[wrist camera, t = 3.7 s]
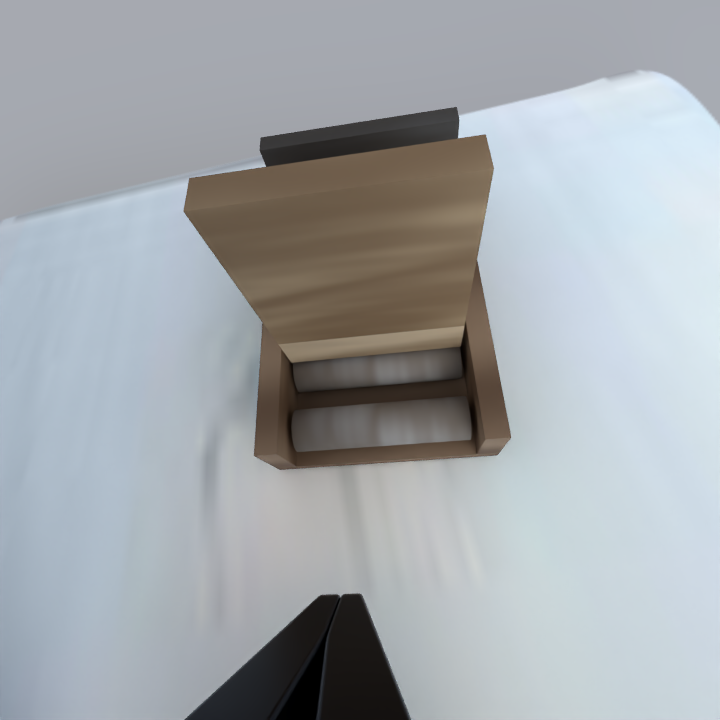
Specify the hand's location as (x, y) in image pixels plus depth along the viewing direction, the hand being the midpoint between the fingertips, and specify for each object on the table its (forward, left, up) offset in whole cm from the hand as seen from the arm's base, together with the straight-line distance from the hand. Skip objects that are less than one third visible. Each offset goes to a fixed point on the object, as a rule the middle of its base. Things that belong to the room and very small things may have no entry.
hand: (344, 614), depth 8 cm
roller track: (+11, -9, -11) cm, 18 cm away
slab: (+10, -8, -9) cm, 15 cm away
